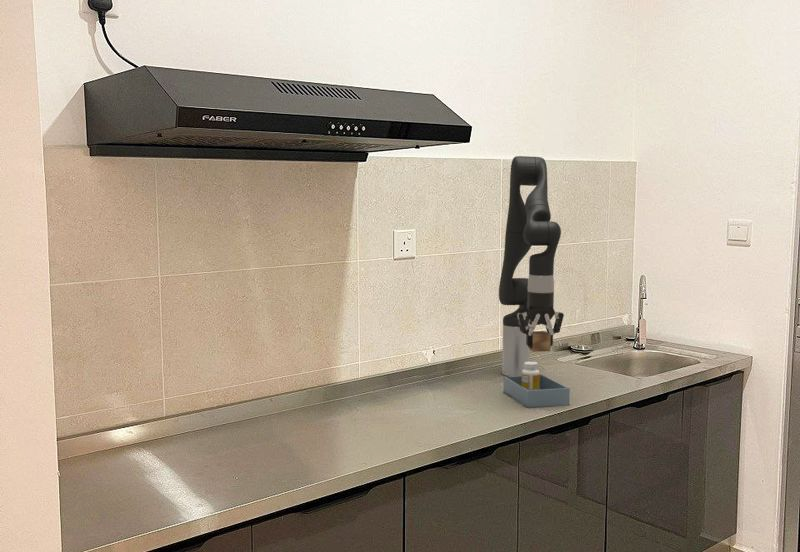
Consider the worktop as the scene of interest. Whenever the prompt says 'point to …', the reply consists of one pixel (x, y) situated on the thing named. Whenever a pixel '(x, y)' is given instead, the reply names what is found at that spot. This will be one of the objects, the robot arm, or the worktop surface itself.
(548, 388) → the tote
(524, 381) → the supplement bottle
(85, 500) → the worktop surface
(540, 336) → the cube
